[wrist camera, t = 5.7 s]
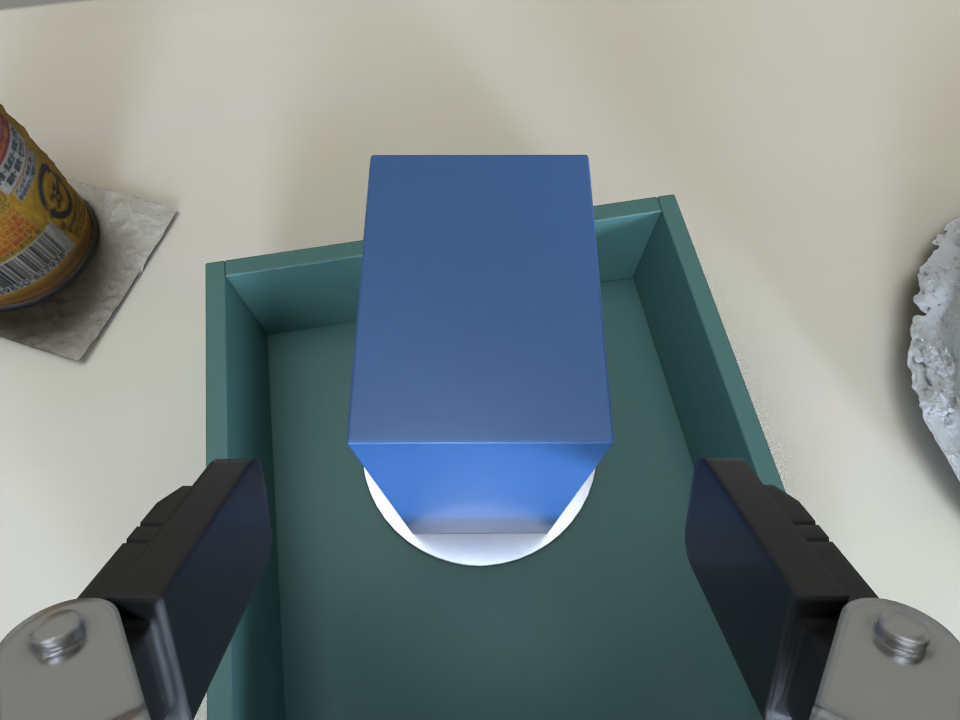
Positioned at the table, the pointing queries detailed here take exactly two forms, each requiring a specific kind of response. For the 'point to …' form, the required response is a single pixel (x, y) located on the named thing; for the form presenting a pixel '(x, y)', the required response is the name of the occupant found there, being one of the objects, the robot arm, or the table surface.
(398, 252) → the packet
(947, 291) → the food container
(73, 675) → the robot arm
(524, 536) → the plate
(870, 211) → the table surface
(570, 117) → the table surface
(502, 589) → the tray
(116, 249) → the condiment
